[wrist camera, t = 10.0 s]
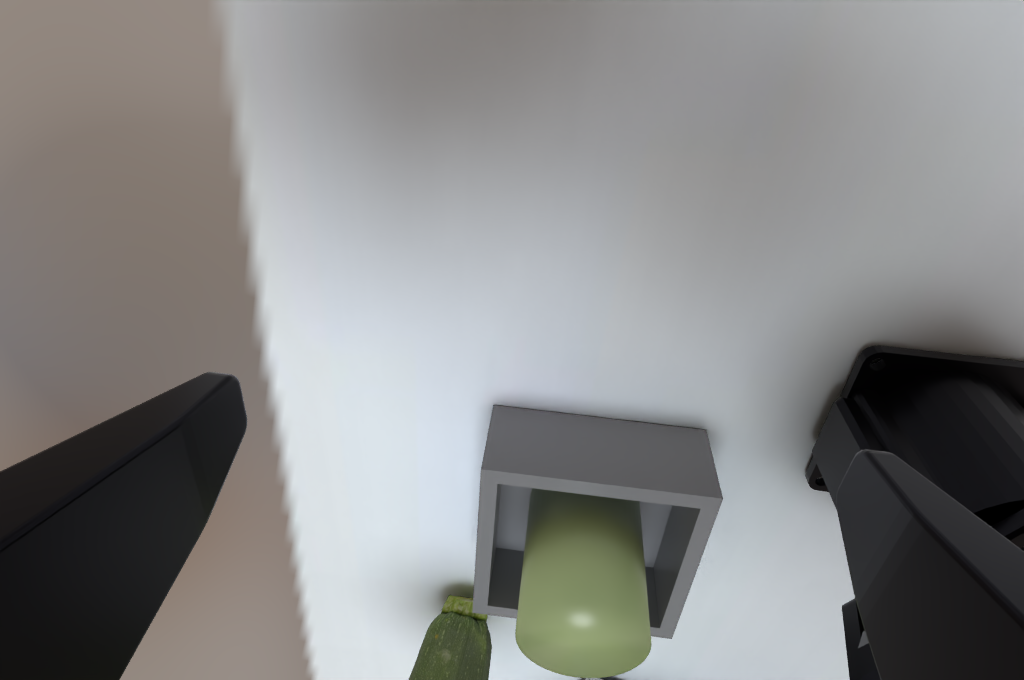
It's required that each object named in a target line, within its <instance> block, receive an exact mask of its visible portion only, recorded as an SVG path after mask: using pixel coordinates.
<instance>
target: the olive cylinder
mask: <svg viewBox="0 0 1024 680" xmlns="http://www.w3.org/2000/svg"><path fill="white" fill-rule="evenodd" d="M515 634H516V642H517V644H518V646H519V648H520V650H521V651H522V653H523V654H524V655H525V656H526V657H527V658H529V659H530V660H531V661H532V662H534V663H536V664H537V665H539V666H541V667H543V668H545V669H547V670H550V671H552V672H555V673H558V674H562V675H566V676H572V677H580V678H602V677H610V676H615V675H618V674H622V673H625V672H627V671H630V670H632V669H633V668H635V667H637V666H638V665H640V664H641V663H642V662H643V661H644V660H645V659H646V657H647V656H648V654H649V652H650V650H651V633H650V621H649V609H648V596H647V584H646V572H645V560H644V548H643V535H642V523H641V511H640V501H633V500H625V499H617V498H609V497H601V496H592V495H584V494H576V493H568V492H560V491H552V490H544V489H535V488H532V491H531V495H530V502H529V511H528V521H527V530H526V539H525V549H524V558H523V567H522V577H521V586H520V595H519V605H518V614H517V623H516V633H515Z"/></svg>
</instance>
